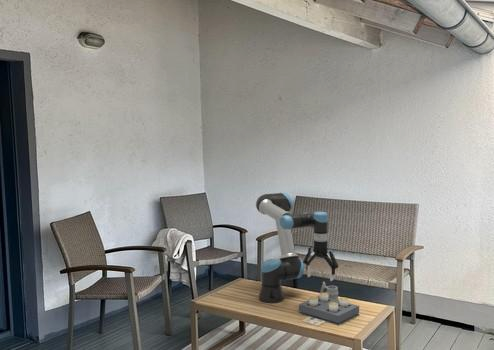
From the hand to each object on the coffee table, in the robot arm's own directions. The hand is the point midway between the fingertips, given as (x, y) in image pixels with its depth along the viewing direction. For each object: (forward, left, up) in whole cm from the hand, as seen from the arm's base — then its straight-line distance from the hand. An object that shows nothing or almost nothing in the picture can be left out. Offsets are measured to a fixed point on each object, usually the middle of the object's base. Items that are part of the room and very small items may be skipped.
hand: (320, 278), depth 265 cm
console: (+4, +2, -20) cm, 20 cm away
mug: (-6, +17, -20) cm, 27 cm away
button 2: (-2, +7, -16) cm, 18 cm away
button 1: (-2, -3, -16) cm, 16 cm away
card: (+5, -13, -20) cm, 24 cm away
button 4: (+11, +7, -16) cm, 20 cm away
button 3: (+11, -3, -16) cm, 19 cm away
